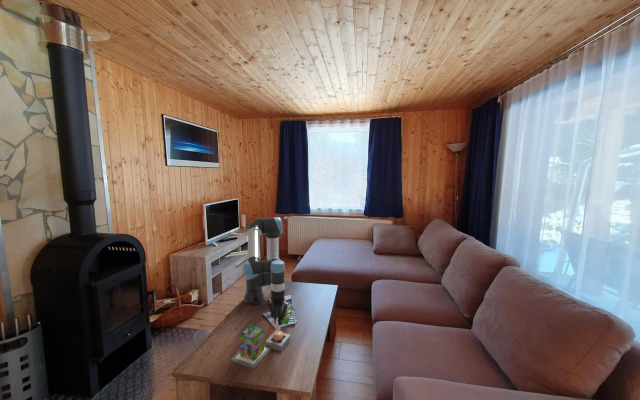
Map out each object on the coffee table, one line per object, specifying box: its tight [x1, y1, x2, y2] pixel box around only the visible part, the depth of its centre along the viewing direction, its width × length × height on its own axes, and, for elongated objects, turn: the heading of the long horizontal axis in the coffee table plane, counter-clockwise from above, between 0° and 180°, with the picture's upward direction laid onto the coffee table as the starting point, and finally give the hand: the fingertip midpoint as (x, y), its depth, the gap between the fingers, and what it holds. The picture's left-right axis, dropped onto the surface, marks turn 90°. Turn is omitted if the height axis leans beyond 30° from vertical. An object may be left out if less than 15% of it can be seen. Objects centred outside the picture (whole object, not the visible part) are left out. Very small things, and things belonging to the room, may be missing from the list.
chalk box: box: [239, 323, 265, 360], centre depth 127 cm, size 9×9×15 cm
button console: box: [265, 332, 291, 352], centre depth 136 cm, size 10×10×3 cm
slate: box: [230, 344, 272, 370], centre depth 127 cm, size 15×14×1 cm
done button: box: [272, 330, 284, 342], centre depth 136 cm, size 6×6×2 cm
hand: (278, 329), depth 135 cm, fingers closed
